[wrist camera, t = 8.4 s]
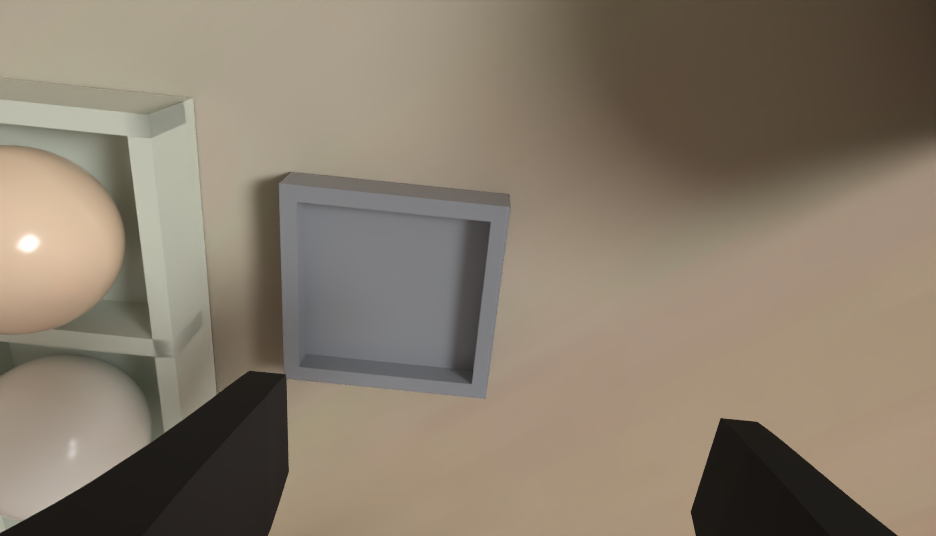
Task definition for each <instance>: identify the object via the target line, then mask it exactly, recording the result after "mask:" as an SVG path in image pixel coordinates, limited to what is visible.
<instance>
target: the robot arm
mask: <svg viewBox="0 0 936 536" xmlns="http://www.w3.org/2000/svg"><path fill="white" fill-rule="evenodd" d="M288 472H289V466H288V426H287V386H286V374H276V373H266V372H256V371H249V372H247V373H246V374H244V375H243V376H241V377H240V378H239V379H237V380H236V381H234V382H233V383H232V384H230V385H229V386H228V387H226V388H225V389H224V390H222V391H221V392H220V393H218V394H217V395H216V396H214V397H213V398H212V399H210V400H209V401H208V402H206V403H205V404H204V405H202V406H201V407H200V408H198V409H197V410H195V411H194V412H193V413H191V414H190V415H189V416H187V417H186V418H185V419H183V420H182V421H180V422H179V423H178V424H176V425H175V426H173V427H172V428H171V429H169V430H168V431H166V432H165V433H164V434H162V435H161V436H159V437H158V438H157V439H155V440H154V441H152V442H151V443H149V444H148V445H146V446H145V447H143V448H142V449H140V450H139V451H137V452H136V453H134V454H133V455H131V456H130V457H128V458H126V459H125V460H123V461H122V462H120V463H119V464H117V465H116V466H114V467H113V468H111V469H110V470H108V471H107V472H105V473H104V474H102V475H100V476H99V477H97V478H96V479H94V480H93V481H91V482H90V483H88V484H86V485H85V486H83V487H81V488H80V489H78V490H76V491H75V492H73V493H71V494H70V495H68V496H66V497H64V498H63V499H61V500H59V501H58V502H56V503H54V504H52V505H50V506H49V507H47V508H45V509H43V510H41V511H40V512H38V513H36V514H34V515H32V516H30V517H29V518H27V519H25V520H23V521H21V522H20V523H18V524H16V525H14V526H12V527H10V528H8V529H6V530H4V531H3V532H1V533H0V536H268V534H269V531H270V529H271V526H272V523H273V520H274V517H275V514H276V511H277V508H278V505H279V502H280V498H281V495H282V492H283V489H284V485H285V482H286V479H287V476H288ZM691 515H692V520H693V524H694V529H695V534H696V536H897V535H896V534H895V533H894V532H892V531H891V530H890V529H888V528H887V527H886V526H885V525H883V524H882V523H881V522H880V521H878V520H877V519H876V518H875V517H873V516H872V515H871V514H870V513H868V512H867V511H866V510H865V509H864V508H862V507H861V506H860V505H859V504H857V503H856V502H855V501H854V500H853V499H851V498H850V497H849V496H848V495H846V494H845V493H844V492H843V491H842V490H840V489H839V488H838V487H837V486H836V485H834V484H833V483H832V482H831V481H830V480H828V479H827V478H826V477H825V476H824V475H823V474H821V473H820V472H819V471H818V470H817V469H815V468H814V467H813V466H812V465H811V464H809V463H808V462H807V461H806V460H805V459H803V458H802V457H801V456H800V455H799V454H797V453H796V452H795V451H794V450H793V449H791V448H790V447H789V446H788V445H787V444H785V443H784V442H783V441H782V440H780V439H779V438H778V437H777V436H775V435H774V434H773V433H772V432H770V431H769V430H768V429H766V428H765V427H764V426H762V425H761V424H759V423H758V422H753V421H743V420H733V419H723V418H721V419H720V422H719V425H718V428H717V431H716V434H715V437H714V441H713V444H712V447H711V450H710V453H709V456H708V459H707V462H706V466H705V469H704V472H703V475H702V478H701V481H700V484H699V488H698V491H697V494H696V497H695V500H694V503H693V506H692V510H691Z"/></svg>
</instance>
